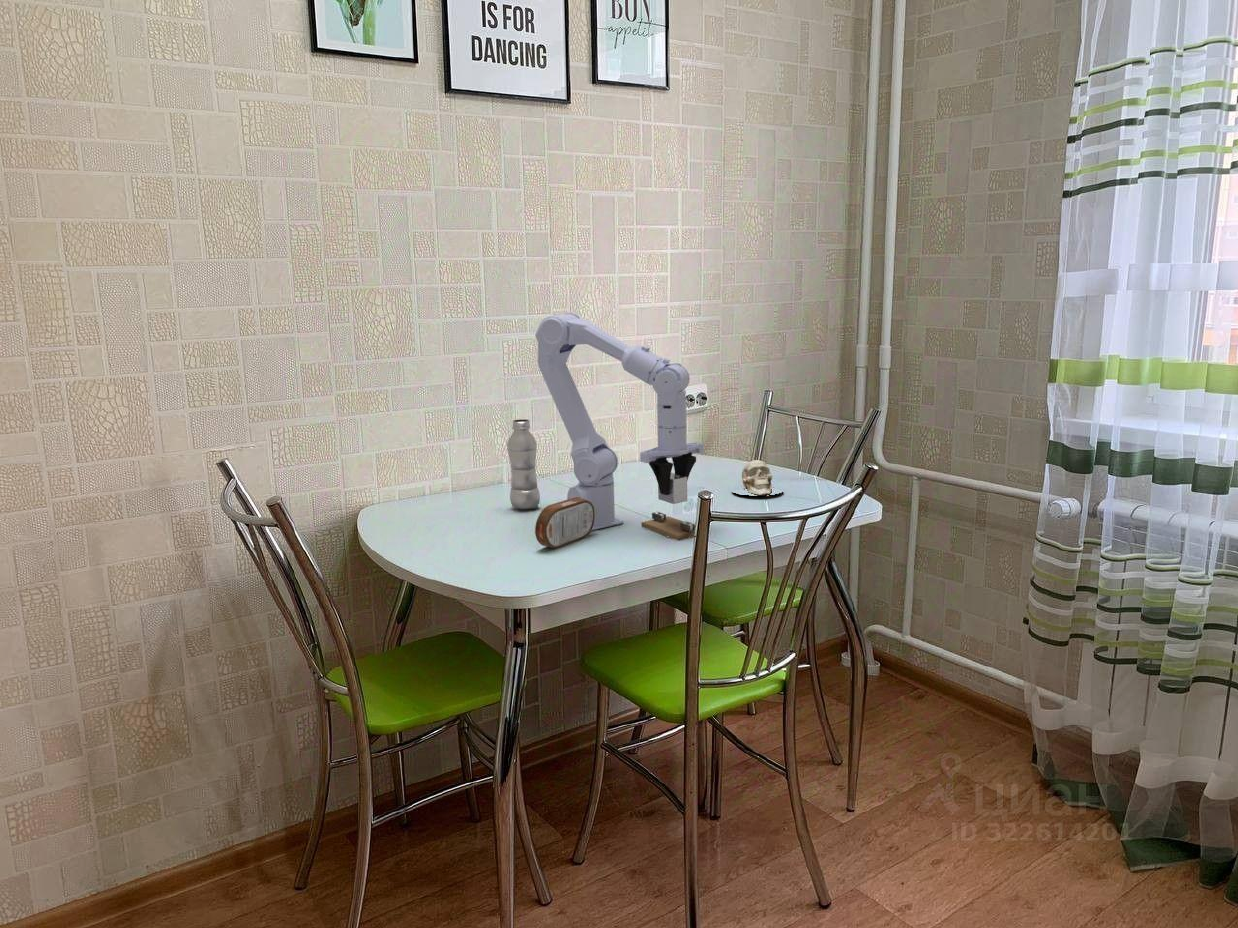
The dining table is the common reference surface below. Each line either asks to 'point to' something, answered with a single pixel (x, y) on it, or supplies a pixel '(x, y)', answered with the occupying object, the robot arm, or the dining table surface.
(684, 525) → the chain ends
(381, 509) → the dining table surface
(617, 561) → the dining table surface
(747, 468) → the skull
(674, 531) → the board
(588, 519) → the tin
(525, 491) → the plastic bottle
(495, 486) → the dining table surface
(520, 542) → the dining table surface
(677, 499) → the grey toy brick
